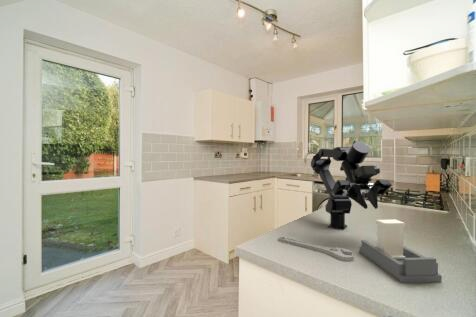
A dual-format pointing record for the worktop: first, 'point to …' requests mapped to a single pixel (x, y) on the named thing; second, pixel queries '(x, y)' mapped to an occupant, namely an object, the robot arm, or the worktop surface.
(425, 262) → the switch housing
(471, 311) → the worktop surface
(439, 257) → the worktop surface
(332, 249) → the adjustable wrench
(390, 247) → the switch tab
